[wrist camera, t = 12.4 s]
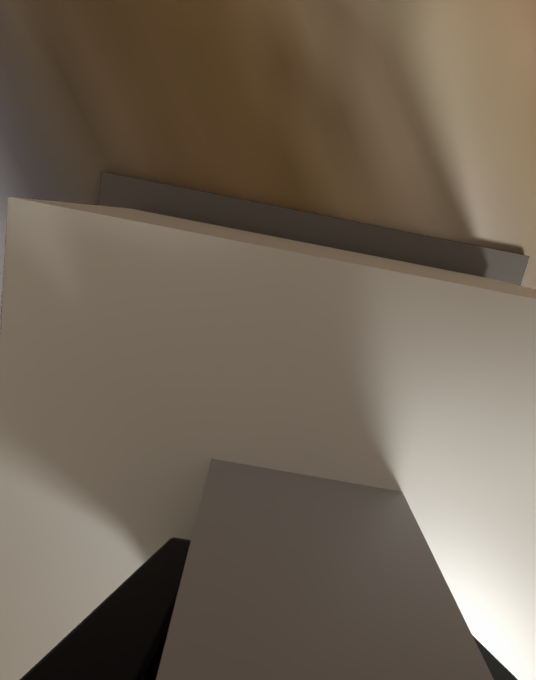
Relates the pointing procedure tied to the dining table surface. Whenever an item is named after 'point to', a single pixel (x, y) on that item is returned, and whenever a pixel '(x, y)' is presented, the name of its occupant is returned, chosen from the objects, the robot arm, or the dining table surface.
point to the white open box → (265, 449)
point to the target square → (310, 228)
